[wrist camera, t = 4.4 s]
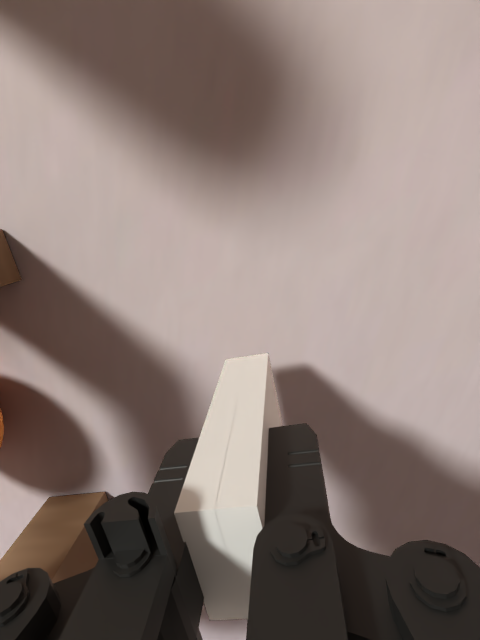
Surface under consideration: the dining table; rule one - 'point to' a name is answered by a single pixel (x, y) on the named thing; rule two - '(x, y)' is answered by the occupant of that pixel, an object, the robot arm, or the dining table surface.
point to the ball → (1, 428)
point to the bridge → (51, 510)
